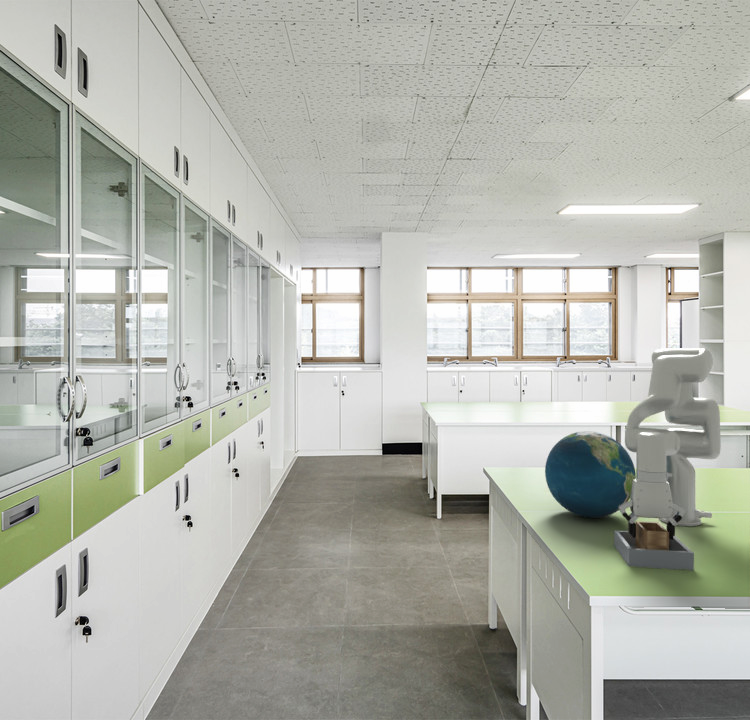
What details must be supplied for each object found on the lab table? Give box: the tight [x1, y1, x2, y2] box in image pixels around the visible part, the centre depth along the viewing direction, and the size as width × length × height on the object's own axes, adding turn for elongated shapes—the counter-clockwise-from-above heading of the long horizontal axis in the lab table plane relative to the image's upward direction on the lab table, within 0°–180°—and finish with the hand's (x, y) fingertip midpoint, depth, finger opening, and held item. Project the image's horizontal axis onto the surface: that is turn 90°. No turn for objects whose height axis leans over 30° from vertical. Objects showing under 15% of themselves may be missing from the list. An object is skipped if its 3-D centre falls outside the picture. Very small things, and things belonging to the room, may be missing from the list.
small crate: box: [635, 520, 669, 550], centre depth 151 cm, size 6×9×8 cm, turn 169°
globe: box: [544, 430, 636, 519], centre depth 190 cm, size 30×30×30 cm
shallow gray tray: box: [613, 530, 695, 571], centre depth 151 cm, size 16×16×5 cm
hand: (651, 537), depth 151 cm, fingers open, 9 cm apart
